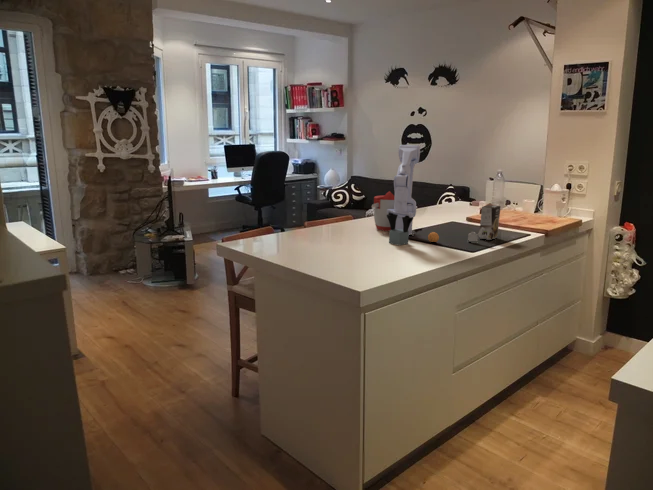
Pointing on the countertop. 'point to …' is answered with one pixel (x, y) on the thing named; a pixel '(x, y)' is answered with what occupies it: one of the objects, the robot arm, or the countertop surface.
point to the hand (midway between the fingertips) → (399, 230)
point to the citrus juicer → (383, 210)
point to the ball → (433, 237)
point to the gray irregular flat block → (475, 235)
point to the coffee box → (490, 221)
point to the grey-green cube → (398, 237)
